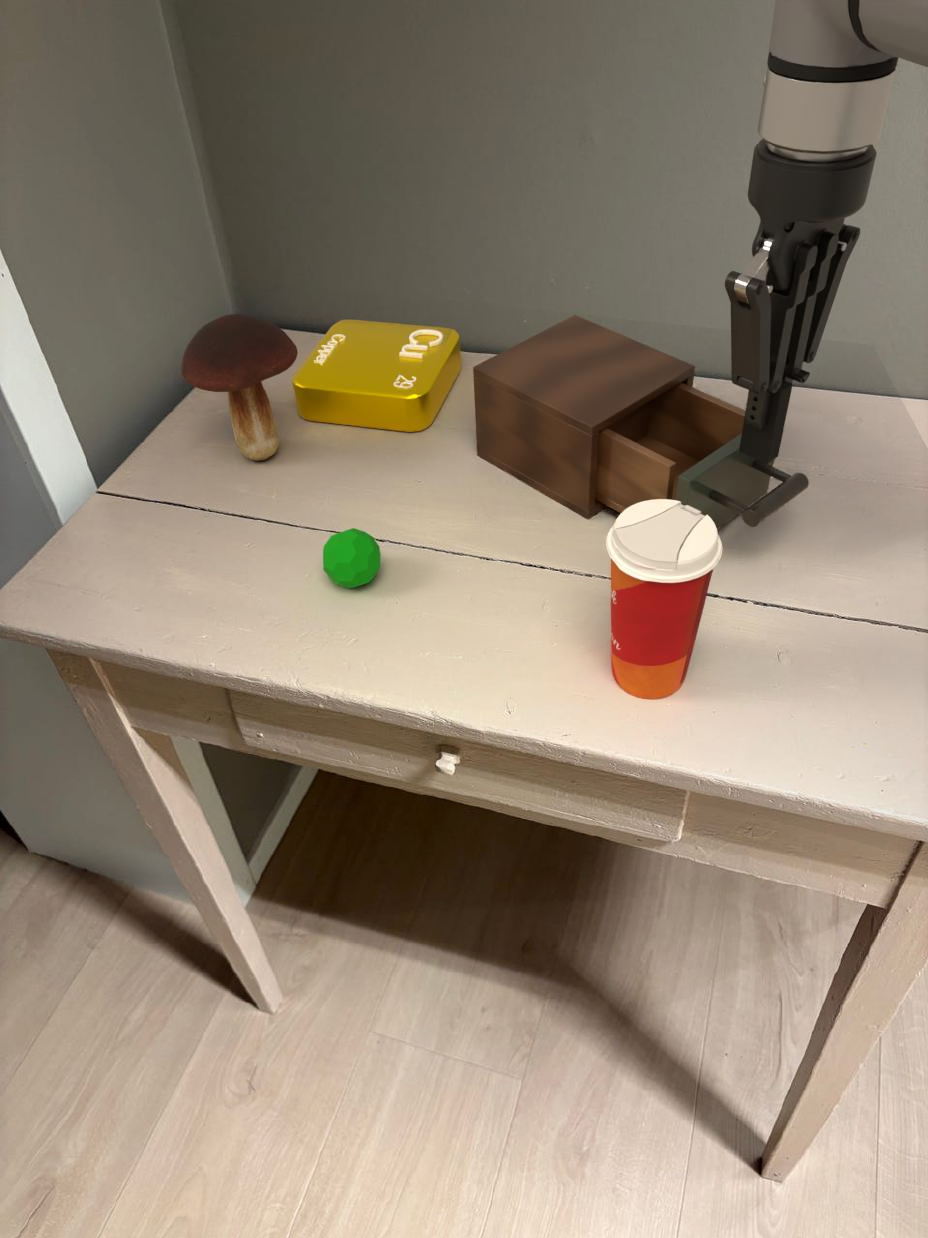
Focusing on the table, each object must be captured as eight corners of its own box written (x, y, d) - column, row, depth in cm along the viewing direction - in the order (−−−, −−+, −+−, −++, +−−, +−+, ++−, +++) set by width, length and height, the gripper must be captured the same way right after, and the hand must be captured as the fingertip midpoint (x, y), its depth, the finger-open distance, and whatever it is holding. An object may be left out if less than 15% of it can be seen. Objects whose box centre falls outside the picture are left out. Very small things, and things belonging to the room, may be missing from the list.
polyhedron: (386, 594, 81) (380, 551, 78) (328, 602, 81) (319, 559, 77) (380, 556, 85) (374, 514, 81) (325, 564, 84) (316, 521, 81)
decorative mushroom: (222, 499, 92) (182, 358, 82) (196, 443, 99) (156, 306, 89) (330, 468, 95) (304, 327, 85) (297, 415, 102) (270, 279, 92)
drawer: (815, 516, 84) (835, 440, 79) (728, 585, 78) (743, 508, 73) (650, 435, 95) (657, 363, 89) (562, 491, 89) (564, 417, 83)
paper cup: (639, 622, 77) (654, 480, 67) (719, 670, 73) (748, 526, 63) (575, 675, 73) (582, 532, 64) (656, 728, 69) (676, 585, 60)
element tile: (342, 351, 112) (336, 312, 109) (466, 363, 108) (464, 323, 105) (292, 420, 102) (284, 379, 98) (426, 435, 98) (423, 394, 95)
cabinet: (683, 456, 93) (695, 365, 87) (587, 519, 87) (592, 427, 80) (572, 401, 102) (574, 314, 95) (476, 455, 95) (472, 366, 88)
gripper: (821, 105, 66) (766, 405, 82) (704, 156, 60) (669, 469, 76) (924, 126, 62) (844, 438, 78) (809, 183, 56) (749, 508, 72)
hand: (758, 453), depth 77 cm, fingers closed
